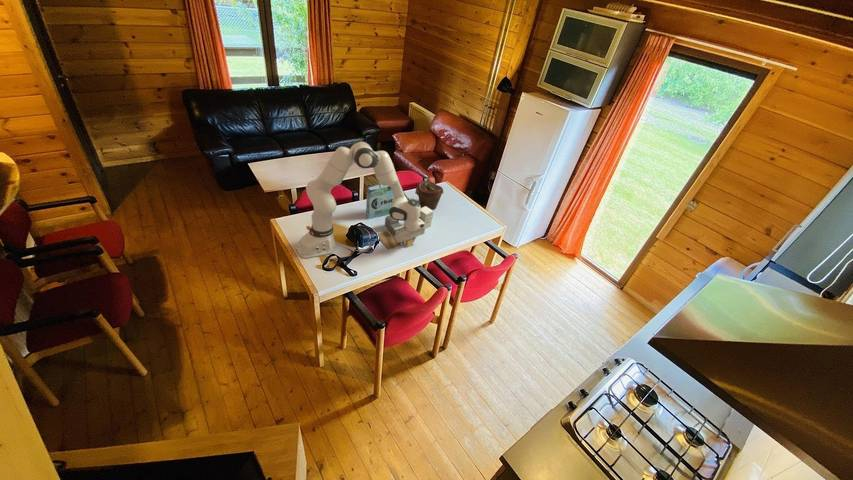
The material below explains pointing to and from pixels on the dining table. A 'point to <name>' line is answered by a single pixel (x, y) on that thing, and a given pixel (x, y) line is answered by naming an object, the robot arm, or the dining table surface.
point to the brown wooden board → (388, 240)
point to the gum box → (378, 200)
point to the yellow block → (409, 242)
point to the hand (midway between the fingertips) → (408, 242)
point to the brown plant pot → (429, 194)
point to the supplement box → (426, 216)
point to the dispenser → (392, 225)
